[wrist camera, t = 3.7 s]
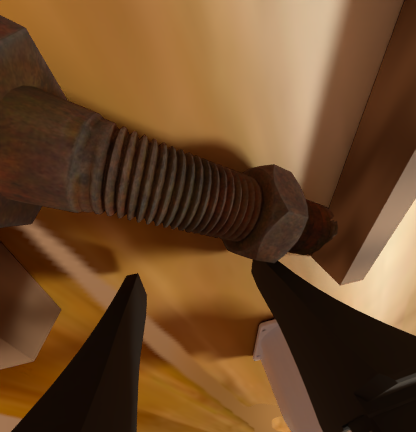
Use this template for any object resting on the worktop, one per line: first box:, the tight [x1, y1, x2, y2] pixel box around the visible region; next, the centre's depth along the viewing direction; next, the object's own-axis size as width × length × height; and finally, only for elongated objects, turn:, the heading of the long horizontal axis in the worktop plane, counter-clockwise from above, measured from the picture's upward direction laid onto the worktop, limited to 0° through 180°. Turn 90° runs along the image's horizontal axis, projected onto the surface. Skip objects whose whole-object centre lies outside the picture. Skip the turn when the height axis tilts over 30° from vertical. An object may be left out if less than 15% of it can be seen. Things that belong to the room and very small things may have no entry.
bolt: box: [0, 15, 338, 263], centre depth 8 cm, size 6×5×15 cm
